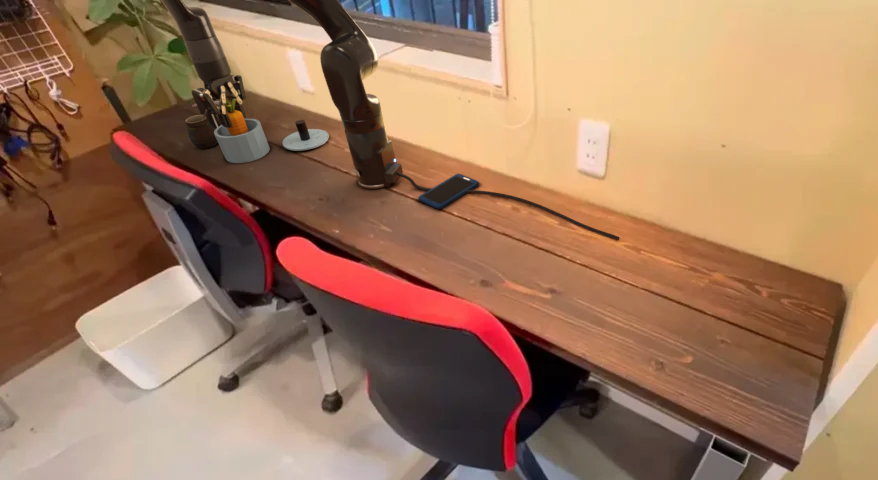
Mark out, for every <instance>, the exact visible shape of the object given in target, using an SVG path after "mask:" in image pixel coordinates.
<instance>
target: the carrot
mask: <svg viewBox="0 0 878 480" xmlns="http://www.w3.org/2000/svg"><path fill="white" fill-rule="evenodd" d="M218 101H220V99H218ZM235 102H236V99H233V100H232V102H231V101H230V100H229V99H228V98H226V105H225V109H226V113H227V114H228V117H229V119H230V122H231V124H232V127H230V128H227V129H228V131H229V133H230V134H231V136H237V135H241V134H245V133H247V132H248V128H247V125H246V122H245V120H244V119H245V118H244V117H243V114H242V113H241V112H240V111H237V110H234V108H235Z"/></svg>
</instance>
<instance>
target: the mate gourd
mask: <svg viewBox="0 0 878 480" xmlns="http://www.w3.org/2000/svg"><path fill="white" fill-rule="evenodd" d="M206 113H207V109H206V111H205V114H204V115H201V114H195V115H191V116H189V117H187V118H186V119H185V120H184V123H185V125H186V126H187V130H188V131H187V133H188V134H187V135H188V138H189V140H190V142H191V143H192V144H193V145H194V146H195V147H196V148H198V149H203V150H204V149H209V148H213V147H215V146H216V145H217V143H218V141H217V139H216V137H215V134H214V131H215V128H214V127H213V126H212V125H211V124H210V123H209V122H208V119H207V117H206Z"/></svg>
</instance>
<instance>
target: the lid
mask: <svg viewBox="0 0 878 480" xmlns="http://www.w3.org/2000/svg"><path fill="white" fill-rule="evenodd" d="M294 123H295V126H296V129H297V131H296V132H293V133H291V134H289V135H288V136H286V137H284V139H283V140H282V146H283V148H284V149H286V150H289V151H293V152H302V151H309V150H311V149H316V148H318V147H321V146H322V145H324V144H326V142H328V140H329V138H330V136H329V133H328V131H326V130H324V129H320V128H309V129H308V126H307V123H306V121H305V119H298V120H296V121H295V122H294Z"/></svg>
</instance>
